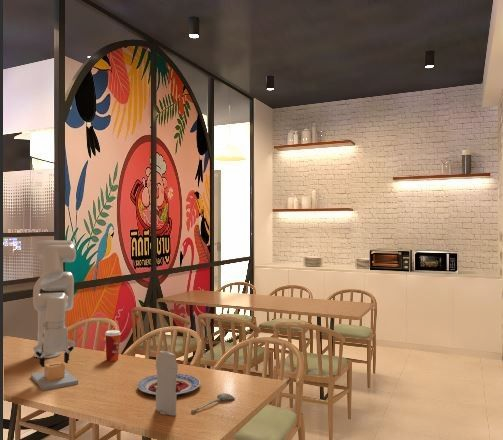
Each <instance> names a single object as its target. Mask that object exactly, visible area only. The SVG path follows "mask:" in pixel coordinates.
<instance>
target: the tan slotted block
mask: <svg viewBox="0 0 503 440" xmlns="http://www.w3.org/2000/svg"><path fill="white" fill-rule="evenodd" d="M65 367H66V365H65V364H64V363H62V361H57V362H51V363H44V367H43V372H44V377H45V378H46V379H47V380H48V381H49V380H55V379H60V378H64V376H65V370H66V368H65Z"/></svg>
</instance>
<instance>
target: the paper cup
mask: <svg viewBox="0 0 503 440" xmlns="http://www.w3.org/2000/svg"><path fill="white" fill-rule="evenodd" d="M121 334H122V333H121V331H120V330H116V329H110V330H107V331H105V333H104V335H105V357H106V358H105V359H106V361H107V362H116V361H118V360H119V356H120V355H119V352H120V342H121V341H120V340H121Z"/></svg>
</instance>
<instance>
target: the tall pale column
mask: <svg viewBox="0 0 503 440" xmlns="http://www.w3.org/2000/svg"><path fill="white" fill-rule="evenodd" d="M176 359H177V358H176V354H175V353H172V352H170V351H165V350H161V351H158V356H157V358H156V360H155V369H156V375H157V389H156V395H155V411H156V412H158V413H159V414H161V415H167V416H170V417H176V416H177V394H176V375H177V374H179V373H178V370H179V364H178V362H177V360H176Z"/></svg>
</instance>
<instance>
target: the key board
mask: <svg viewBox="0 0 503 440" xmlns="http://www.w3.org/2000/svg"><path fill="white" fill-rule="evenodd" d="M31 377H32V378H31ZM30 378H31V380H33V382H35V384H36V383H37V384H38V385H39V386H38V385H37V384H36V385H37V386H38V387H39V389H41V390H42V392H44V391H48V390H53V389H59V388H64V387H68V386H75V385H79V380H78V378H76V377H75V376H74V375H72V373H70V372H69V371H68V370H67V369H65V376H64V378H60V379H55V380H49V381H48V380H47V379H46V378H45V377H44V371H40V372H34V373H30Z"/></svg>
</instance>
